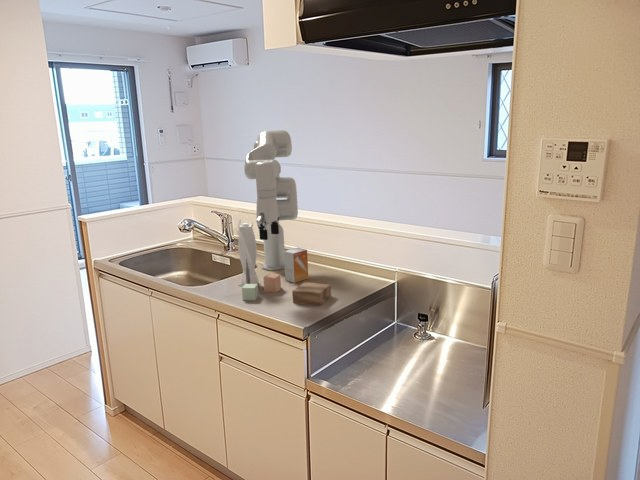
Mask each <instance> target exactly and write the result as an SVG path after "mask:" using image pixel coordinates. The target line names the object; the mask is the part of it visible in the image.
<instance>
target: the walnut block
mask: <svg viewBox="0 0 640 480" xmlns="http://www.w3.org/2000/svg"><path fill="white" fill-rule="evenodd" d="M331 297H332V287H331V284H328V283H319V282H309V281H304V282H303V283H301V284H300V285H298V286H297V287H295V289H293V290H292V304H301V305H311V306H316V307H317V306H318V307H320V306H321V305H323V304H324V303H325V302H326V301H327V300H328V299H330V298H331Z"/></svg>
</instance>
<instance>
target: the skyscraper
mask: <svg viewBox="0 0 640 480" xmlns="http://www.w3.org/2000/svg"><path fill="white" fill-rule="evenodd" d="M253 226H254V223H253V222H251V223H249V222H243V223H242V220H241V219H240V218H239V219H238V224H237V227H238V240H237V243H238V244H237V246H238V248H237V249H238V254H239V255H238V256H239V260H240V264H241V267H242V278H241V283H240V284H238V285H237V286H238V287H241V288H242V287H243V286H244V285H245V284H258V286H261V285H262V283H260V282H259V278H258V275H257V272H256V262H257V261H256V260H257V253H258V251H257V242H256V240H257V239H256V237H255V236H256V235H255V232H254V228H253Z"/></svg>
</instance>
